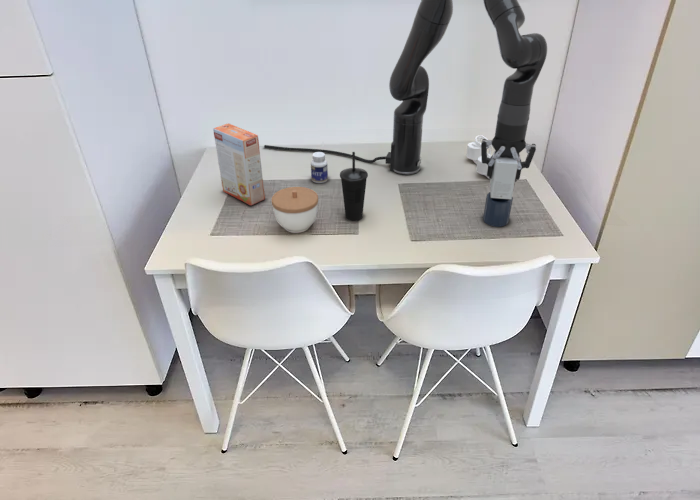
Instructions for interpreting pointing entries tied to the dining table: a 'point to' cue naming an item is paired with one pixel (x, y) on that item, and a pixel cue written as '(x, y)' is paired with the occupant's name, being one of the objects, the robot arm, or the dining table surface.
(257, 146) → the cracker box
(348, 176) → the drinking cup
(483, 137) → the skeletal toy car
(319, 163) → the pill bottle
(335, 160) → the dining table surface
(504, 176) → the small box
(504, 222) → the coffee cup
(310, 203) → the lidded bowl
